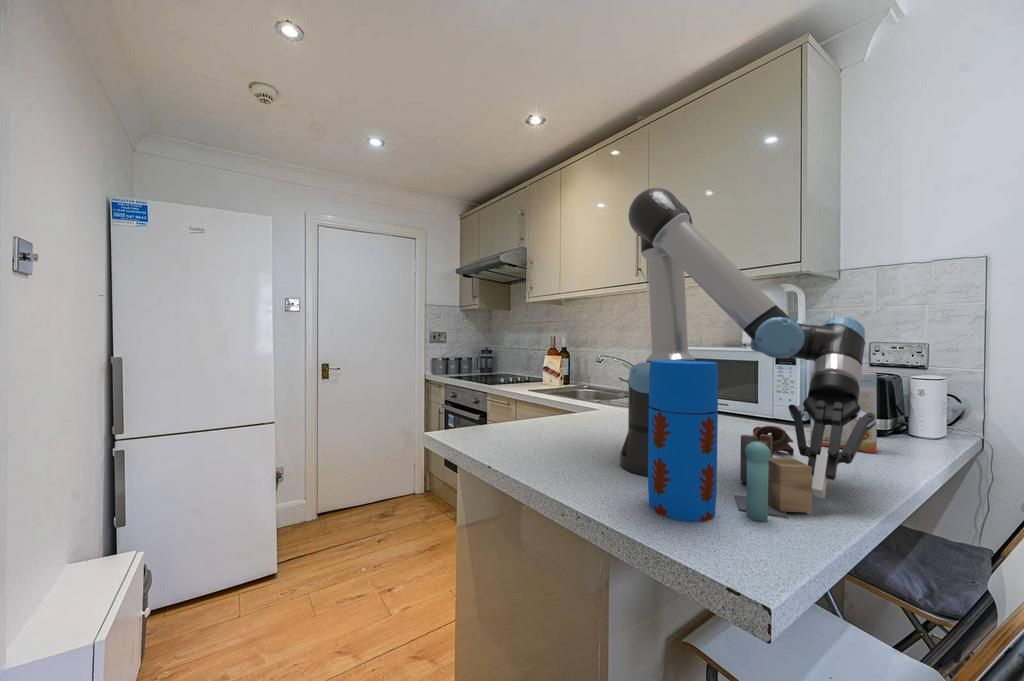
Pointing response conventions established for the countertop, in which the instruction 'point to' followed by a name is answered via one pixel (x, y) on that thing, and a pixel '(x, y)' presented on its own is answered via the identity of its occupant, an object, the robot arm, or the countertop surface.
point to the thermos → (683, 439)
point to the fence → (767, 441)
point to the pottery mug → (775, 438)
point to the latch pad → (771, 510)
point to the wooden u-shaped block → (783, 481)
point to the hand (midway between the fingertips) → (818, 493)
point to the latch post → (757, 481)
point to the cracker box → (867, 405)
